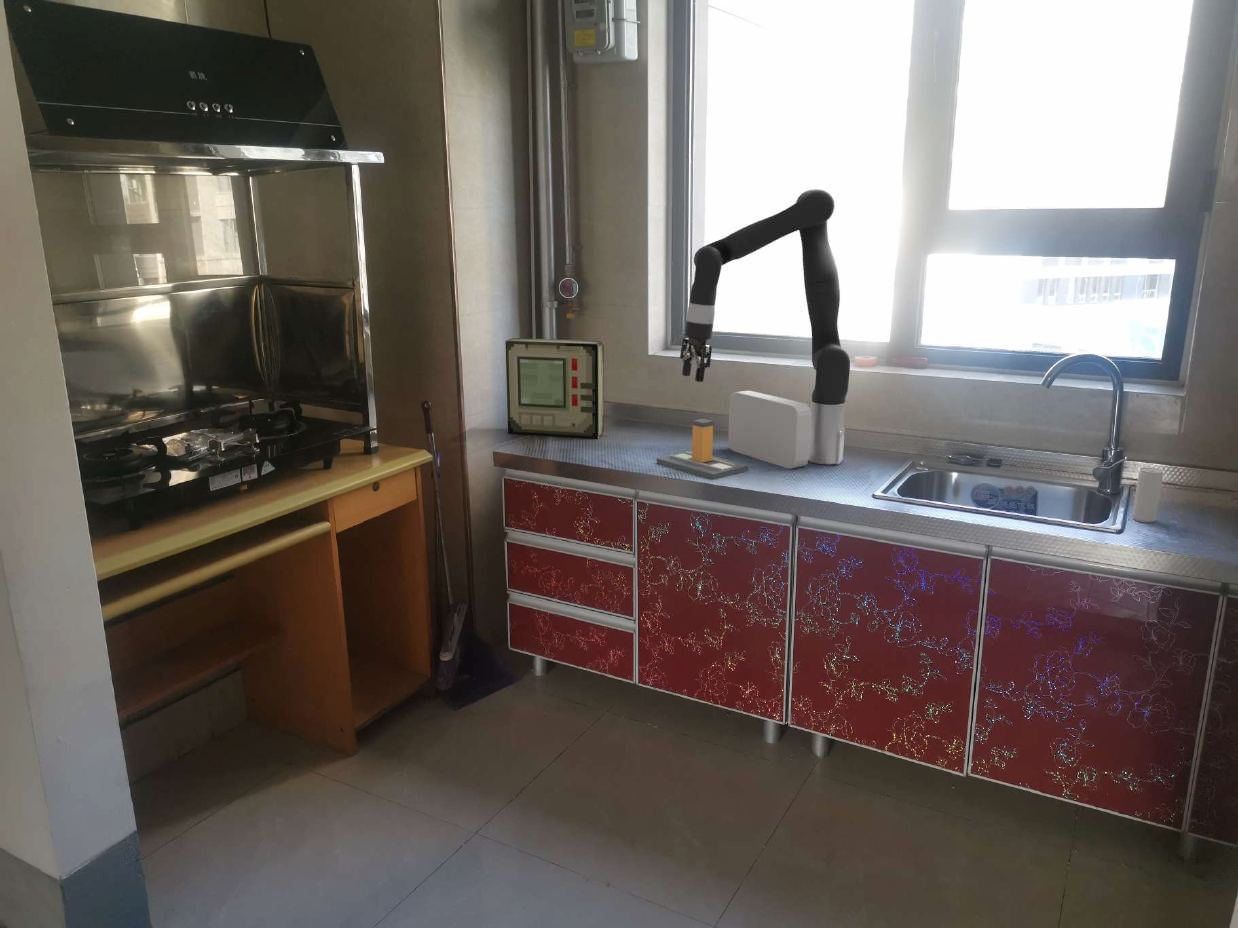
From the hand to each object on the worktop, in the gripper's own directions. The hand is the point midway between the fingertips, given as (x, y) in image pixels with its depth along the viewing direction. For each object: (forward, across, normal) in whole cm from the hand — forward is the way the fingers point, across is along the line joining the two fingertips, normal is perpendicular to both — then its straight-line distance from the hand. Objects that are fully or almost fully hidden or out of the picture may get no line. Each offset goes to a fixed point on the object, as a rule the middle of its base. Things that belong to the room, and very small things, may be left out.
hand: (692, 378), depth 255 cm
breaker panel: (+24, -8, -3) cm, 25 cm away
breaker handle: (+22, -8, -2) cm, 23 cm away
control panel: (+28, +45, +23) cm, 58 cm away
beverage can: (+13, -86, -77) cm, 116 cm away
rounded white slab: (+22, -6, -24) cm, 33 cm away
